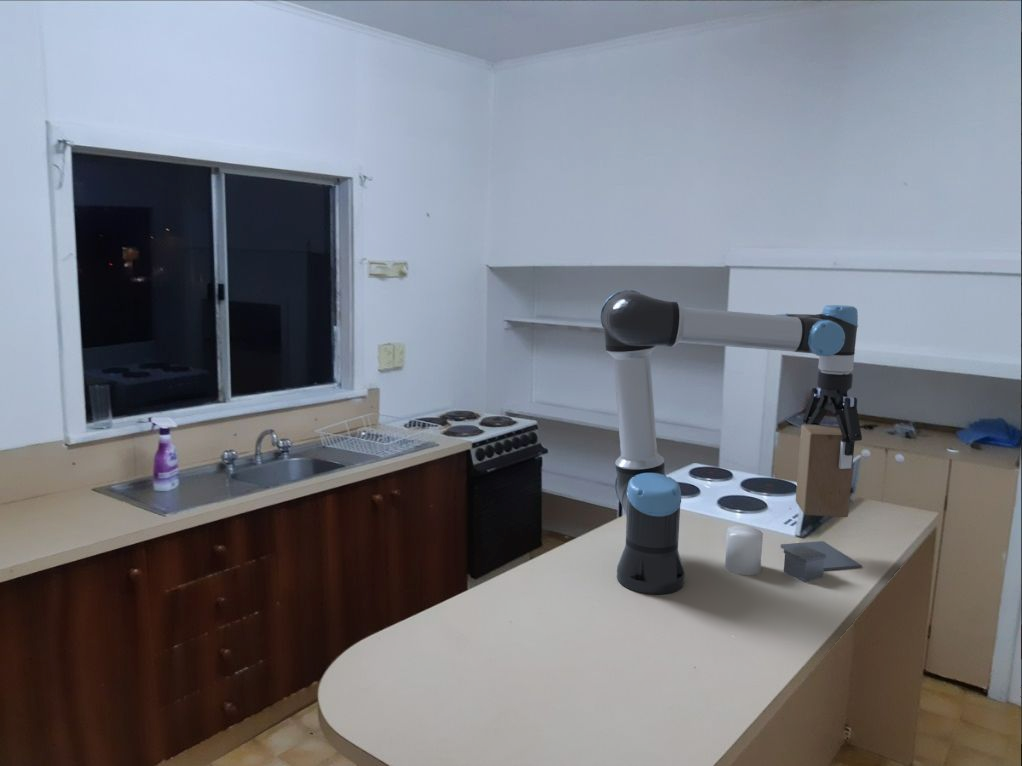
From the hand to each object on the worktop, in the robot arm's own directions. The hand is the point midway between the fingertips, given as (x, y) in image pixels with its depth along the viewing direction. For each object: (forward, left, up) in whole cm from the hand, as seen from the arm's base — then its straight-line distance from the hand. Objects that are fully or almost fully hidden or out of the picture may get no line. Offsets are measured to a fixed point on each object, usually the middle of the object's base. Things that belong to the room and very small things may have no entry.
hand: (828, 460), depth 177 cm
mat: (0, 0, -24) cm, 24 cm away
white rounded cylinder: (-22, -2, -24) cm, 33 cm away
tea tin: (-10, -8, -25) cm, 28 cm away
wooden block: (-1, 0, -13) cm, 13 cm away
